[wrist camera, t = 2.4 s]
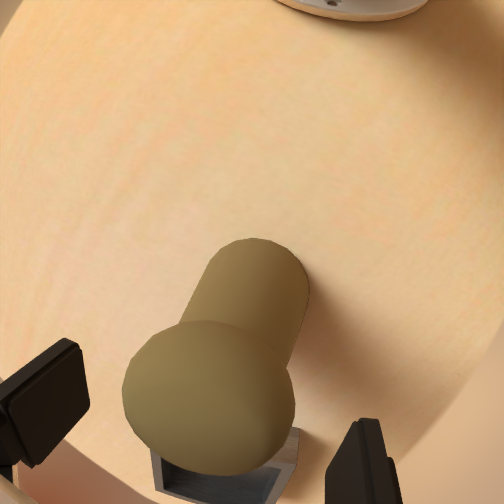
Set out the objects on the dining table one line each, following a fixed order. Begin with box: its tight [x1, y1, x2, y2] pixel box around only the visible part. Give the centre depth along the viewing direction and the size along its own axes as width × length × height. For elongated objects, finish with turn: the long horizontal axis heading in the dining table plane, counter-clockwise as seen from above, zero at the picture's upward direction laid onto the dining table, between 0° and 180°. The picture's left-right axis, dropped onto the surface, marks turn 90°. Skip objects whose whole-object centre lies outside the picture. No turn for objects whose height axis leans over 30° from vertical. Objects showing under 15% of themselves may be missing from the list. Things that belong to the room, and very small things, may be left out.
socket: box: [150, 427, 300, 504], centre depth 20 cm, size 10×10×4 cm
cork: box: [122, 238, 310, 476], centre depth 12 cm, size 6×6×11 cm
